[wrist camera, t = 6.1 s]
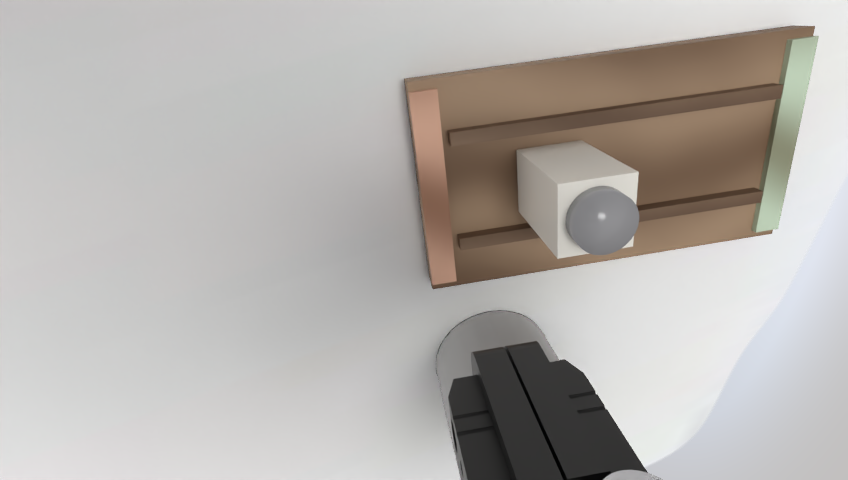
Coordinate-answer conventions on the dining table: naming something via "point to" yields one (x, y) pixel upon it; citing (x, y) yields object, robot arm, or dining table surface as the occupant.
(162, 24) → the dining table surface
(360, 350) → the dining table surface
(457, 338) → the bottle
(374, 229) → the dining table surface
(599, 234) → the slider knob
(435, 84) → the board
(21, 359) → the dining table surface
